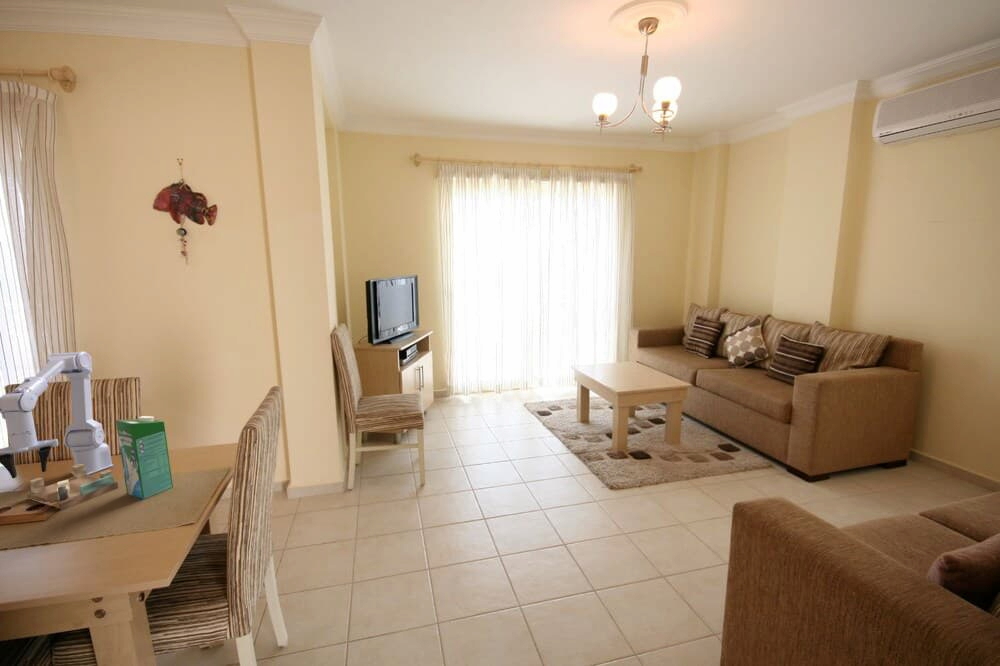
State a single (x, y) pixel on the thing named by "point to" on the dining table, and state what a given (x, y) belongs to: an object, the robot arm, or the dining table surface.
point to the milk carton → (144, 456)
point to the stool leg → (63, 490)
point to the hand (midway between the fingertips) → (29, 473)
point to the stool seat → (74, 487)
